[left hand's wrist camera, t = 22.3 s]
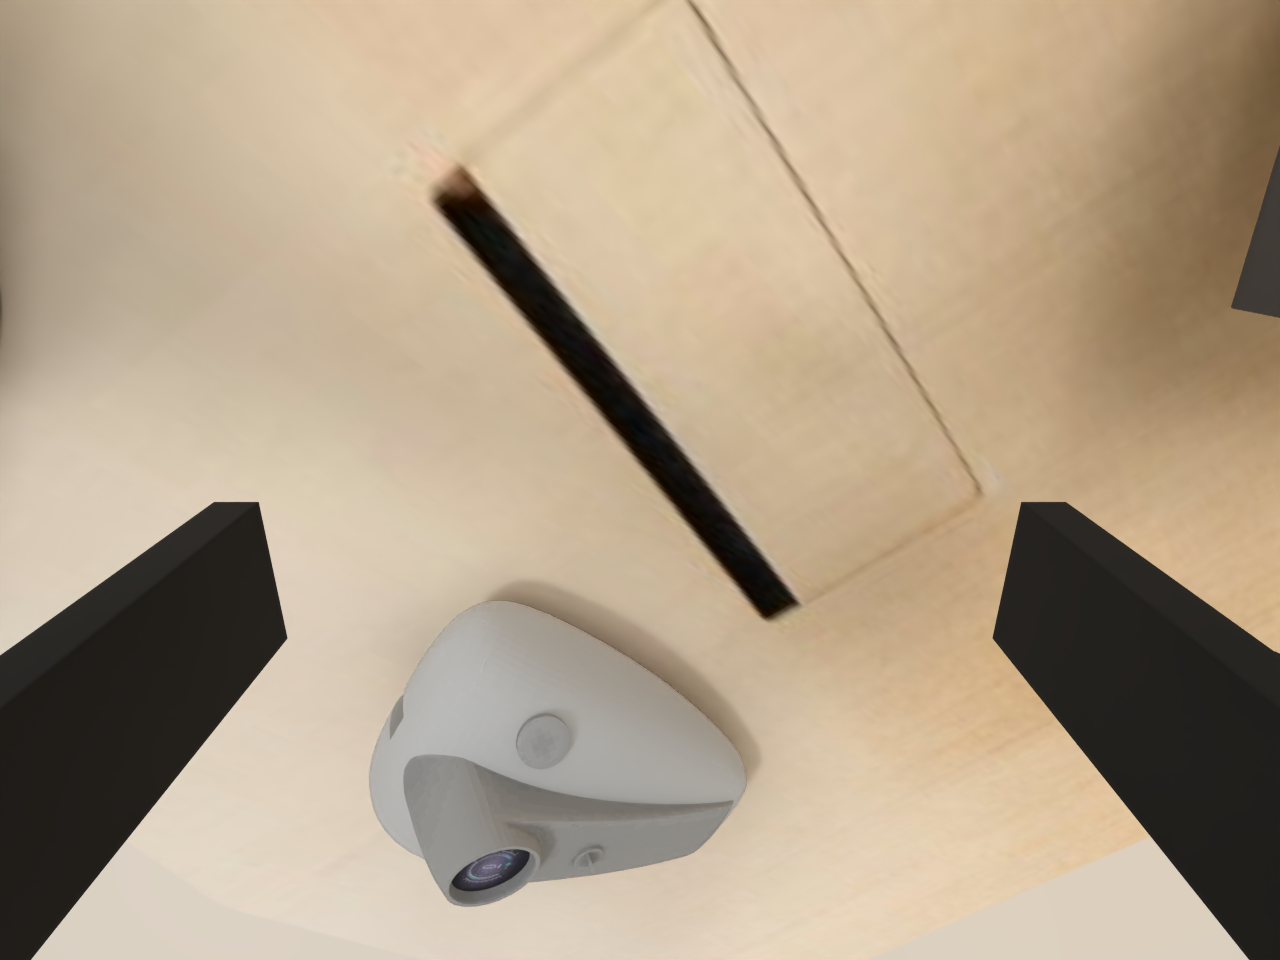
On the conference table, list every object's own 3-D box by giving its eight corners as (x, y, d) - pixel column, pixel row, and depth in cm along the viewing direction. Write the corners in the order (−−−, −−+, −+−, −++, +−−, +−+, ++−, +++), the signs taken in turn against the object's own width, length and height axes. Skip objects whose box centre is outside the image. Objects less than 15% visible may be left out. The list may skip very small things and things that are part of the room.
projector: (473, 867, 54) (417, 1093, 41) (337, 619, 46) (210, 795, 33) (758, 800, 52) (800, 1015, 38) (667, 525, 44) (679, 673, 30)
